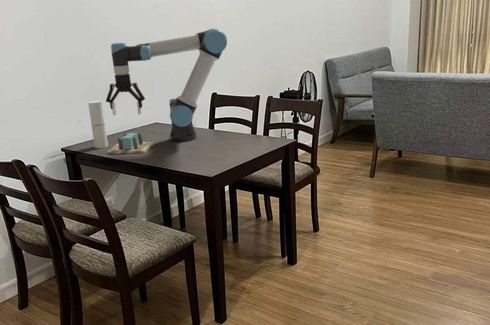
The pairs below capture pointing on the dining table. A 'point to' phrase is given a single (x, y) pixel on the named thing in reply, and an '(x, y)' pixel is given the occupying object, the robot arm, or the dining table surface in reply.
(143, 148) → the wooden peg board
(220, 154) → the dining table surface
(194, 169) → the dining table surface
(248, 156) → the dining table surface
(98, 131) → the cylindrical container
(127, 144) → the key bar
